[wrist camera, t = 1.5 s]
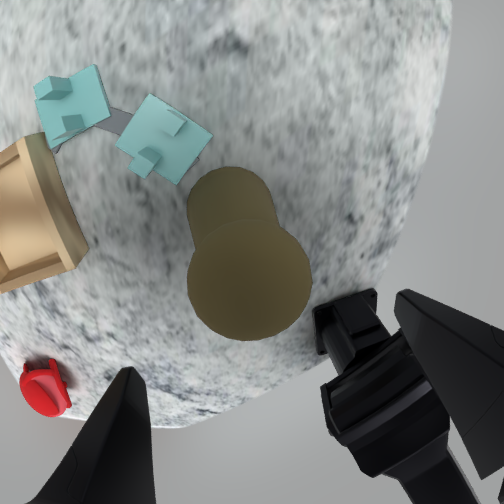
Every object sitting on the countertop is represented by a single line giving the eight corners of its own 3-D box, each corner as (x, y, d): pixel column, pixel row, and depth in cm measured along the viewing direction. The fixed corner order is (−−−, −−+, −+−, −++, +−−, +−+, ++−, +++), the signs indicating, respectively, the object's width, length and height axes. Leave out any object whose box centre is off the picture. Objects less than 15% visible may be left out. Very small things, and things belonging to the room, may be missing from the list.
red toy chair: (61, 375, 21) (10, 386, 18) (80, 421, 22) (33, 433, 18) (54, 345, 27) (12, 354, 24) (68, 387, 28) (29, 396, 24)
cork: (284, 227, 22) (346, 326, 12) (209, 260, 22) (220, 377, 12) (253, 152, 19) (308, 202, 9) (171, 190, 19) (141, 278, 9)
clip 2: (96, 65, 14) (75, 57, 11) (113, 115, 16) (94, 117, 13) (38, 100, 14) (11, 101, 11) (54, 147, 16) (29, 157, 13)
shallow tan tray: (89, 248, 20) (75, 268, 17) (11, 276, 19) (-3, 295, 17) (45, 131, 15) (23, 136, 13) (-30, 181, 15) (-50, 192, 12)
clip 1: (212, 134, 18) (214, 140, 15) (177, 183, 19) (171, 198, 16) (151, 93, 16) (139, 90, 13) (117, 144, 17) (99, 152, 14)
